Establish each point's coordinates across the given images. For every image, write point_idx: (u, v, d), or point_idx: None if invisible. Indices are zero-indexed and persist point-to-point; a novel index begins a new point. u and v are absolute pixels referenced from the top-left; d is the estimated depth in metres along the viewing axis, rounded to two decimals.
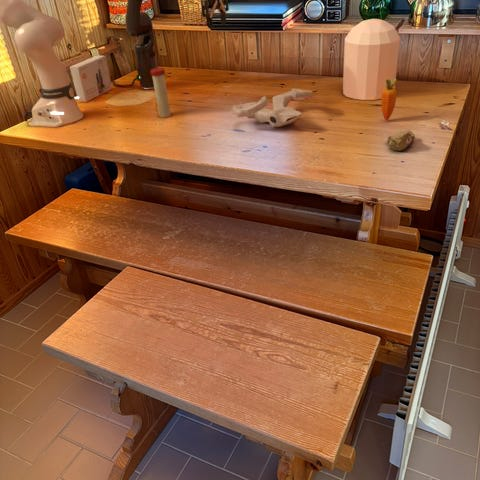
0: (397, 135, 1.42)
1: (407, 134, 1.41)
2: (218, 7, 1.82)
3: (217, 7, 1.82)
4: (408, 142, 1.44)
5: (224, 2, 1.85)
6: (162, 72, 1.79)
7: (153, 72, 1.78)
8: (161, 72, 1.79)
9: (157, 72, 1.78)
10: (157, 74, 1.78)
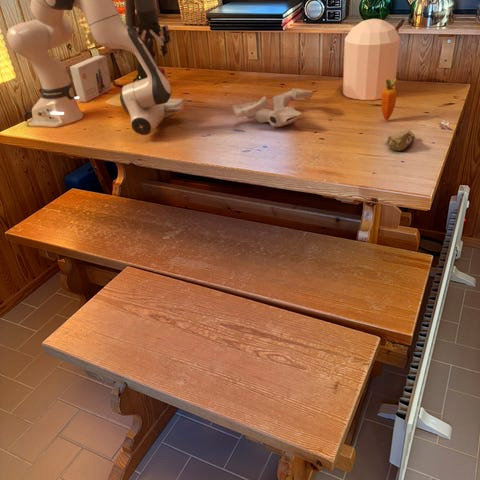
0: (397, 135, 1.42)
1: (407, 134, 1.41)
2: (151, 37, 1.72)
3: (150, 37, 1.72)
4: (408, 142, 1.44)
5: None
6: (162, 72, 1.79)
7: None
8: None
9: None
10: None
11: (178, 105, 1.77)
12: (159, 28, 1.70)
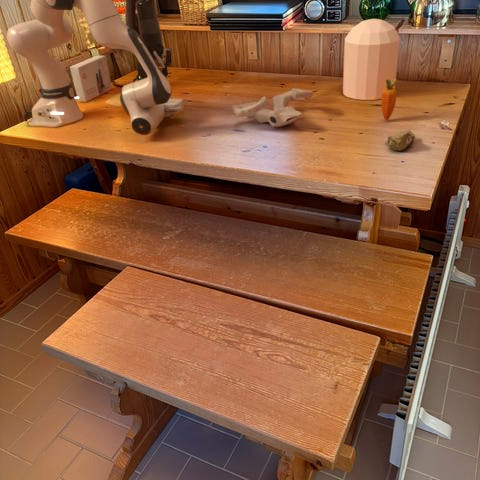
0: (397, 135, 1.42)
1: (407, 134, 1.41)
2: (155, 58, 1.76)
3: None
4: (408, 142, 1.44)
5: None
6: (162, 72, 1.79)
7: None
8: None
9: None
10: None
11: (178, 105, 1.77)
12: (163, 49, 1.74)
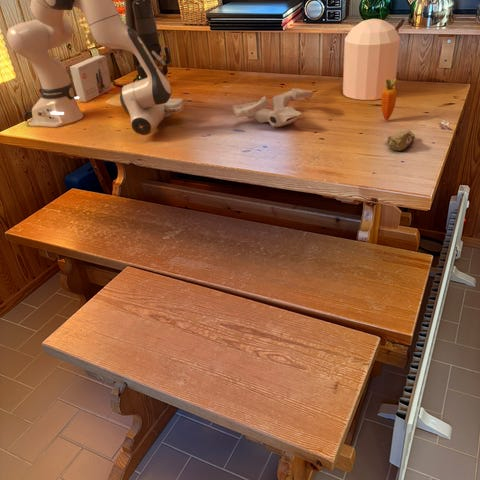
0: (397, 135, 1.42)
1: (407, 134, 1.41)
2: None
3: None
4: (408, 142, 1.44)
5: None
6: None
7: None
8: None
9: None
10: (163, 72, 1.80)
11: (178, 105, 1.77)
12: (161, 49, 1.75)
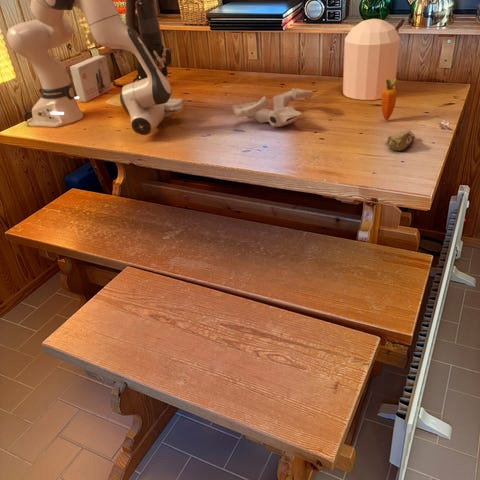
0: (397, 135, 1.42)
1: (407, 134, 1.41)
2: (155, 57, 1.76)
3: (153, 57, 1.76)
4: (408, 142, 1.44)
5: None
6: None
7: None
8: None
9: None
10: None
11: (178, 105, 1.77)
12: (162, 49, 1.74)
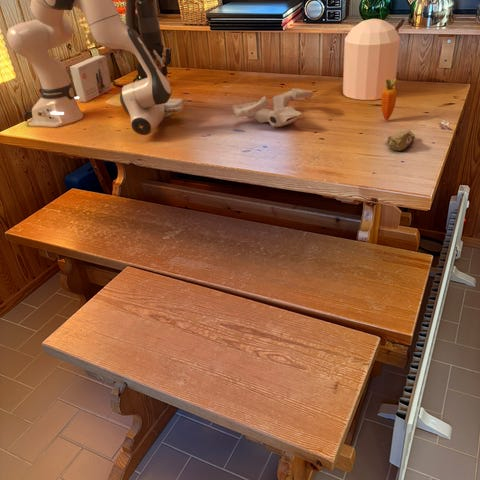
0: (397, 135, 1.42)
1: (407, 134, 1.41)
2: (155, 57, 1.76)
3: (153, 57, 1.76)
4: (408, 142, 1.44)
5: None
6: None
7: None
8: None
9: None
10: None
11: (178, 105, 1.77)
12: (162, 48, 1.74)
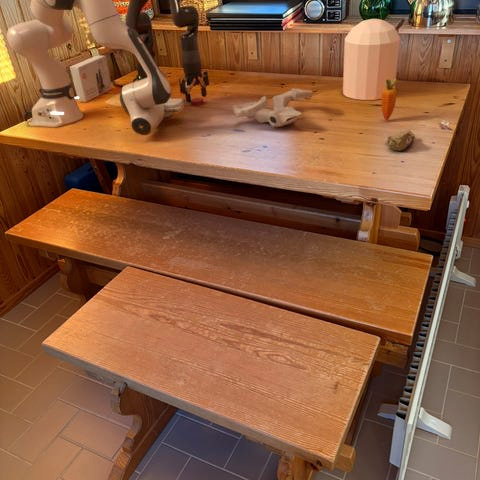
0: (397, 135, 1.42)
1: (407, 134, 1.41)
2: (197, 83, 1.95)
3: (196, 84, 1.94)
4: (408, 142, 1.44)
5: (204, 78, 1.98)
6: None
7: None
8: None
9: None
10: None
11: (178, 105, 1.77)
12: (202, 74, 1.95)
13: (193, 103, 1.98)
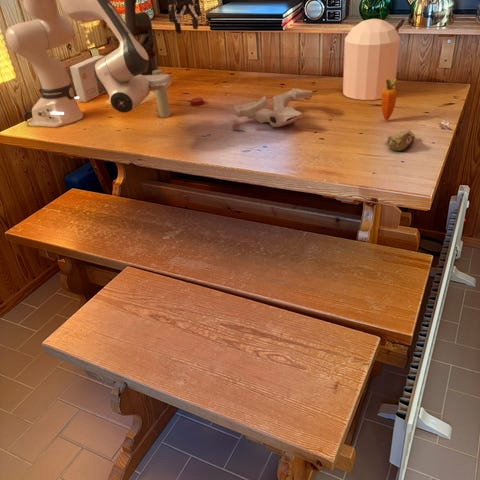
0: (397, 135, 1.42)
1: (407, 134, 1.41)
2: (188, 12, 1.79)
3: (186, 12, 1.79)
4: (408, 142, 1.44)
5: (196, 7, 1.82)
6: None
7: None
8: None
9: None
10: None
11: (164, 81, 1.60)
12: (193, 2, 1.80)
13: (193, 103, 1.98)
